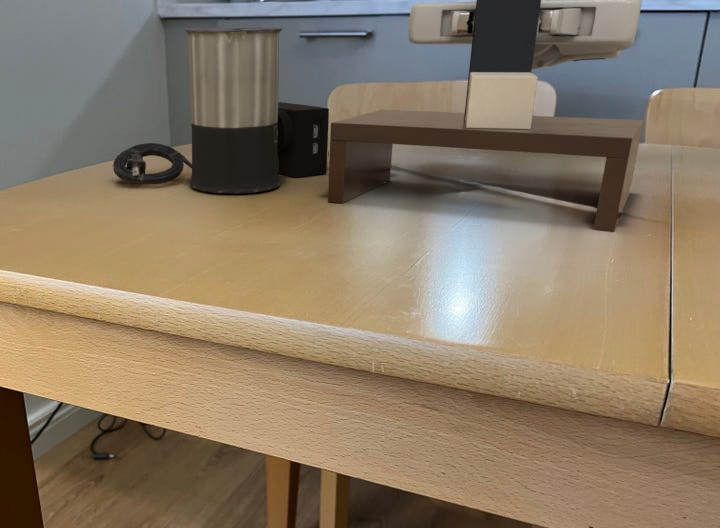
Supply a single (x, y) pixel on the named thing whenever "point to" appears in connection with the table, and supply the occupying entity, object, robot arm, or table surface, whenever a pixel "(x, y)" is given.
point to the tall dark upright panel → (502, 65)
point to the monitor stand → (446, 129)
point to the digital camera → (302, 139)
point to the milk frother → (224, 115)
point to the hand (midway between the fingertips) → (503, 22)
